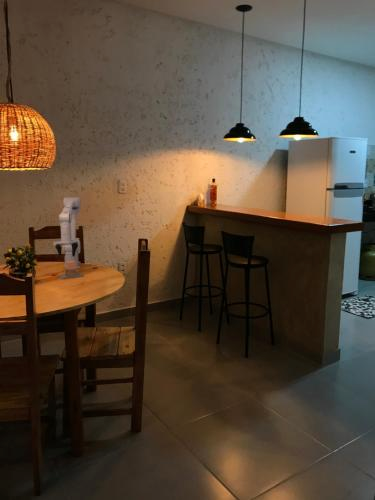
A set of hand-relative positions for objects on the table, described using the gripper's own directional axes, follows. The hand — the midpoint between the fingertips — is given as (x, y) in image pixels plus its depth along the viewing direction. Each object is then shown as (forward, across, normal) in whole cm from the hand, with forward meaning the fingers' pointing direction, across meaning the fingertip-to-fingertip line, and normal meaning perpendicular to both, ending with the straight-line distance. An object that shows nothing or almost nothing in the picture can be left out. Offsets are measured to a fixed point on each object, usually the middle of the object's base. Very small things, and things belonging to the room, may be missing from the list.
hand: (67, 256), depth 237 cm
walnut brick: (+10, 0, -6) cm, 11 cm away
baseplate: (+10, 0, -6) cm, 12 cm away
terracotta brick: (+6, 0, -6) cm, 8 cm away
